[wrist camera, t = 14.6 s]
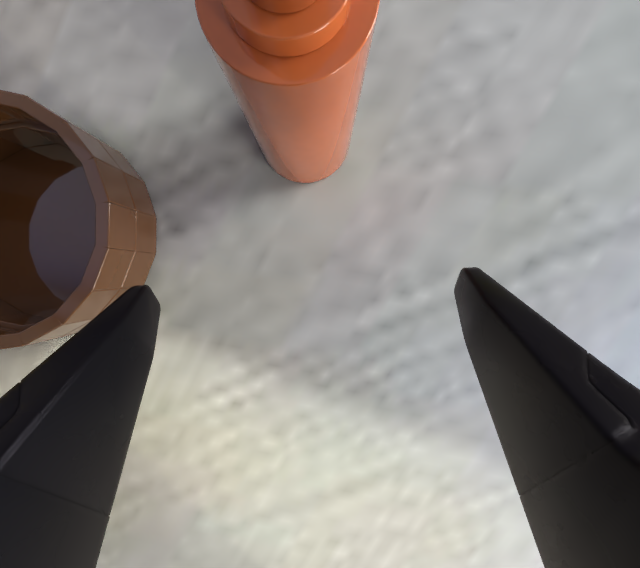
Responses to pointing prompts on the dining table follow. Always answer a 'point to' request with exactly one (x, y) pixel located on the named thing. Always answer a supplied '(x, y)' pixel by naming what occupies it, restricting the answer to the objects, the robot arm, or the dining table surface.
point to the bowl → (64, 224)
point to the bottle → (294, 74)
